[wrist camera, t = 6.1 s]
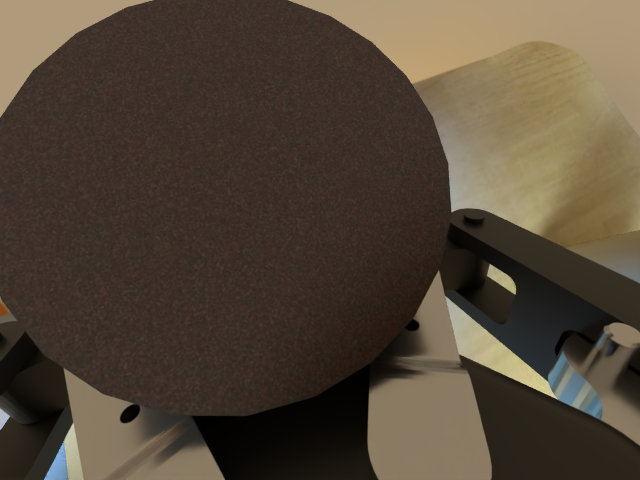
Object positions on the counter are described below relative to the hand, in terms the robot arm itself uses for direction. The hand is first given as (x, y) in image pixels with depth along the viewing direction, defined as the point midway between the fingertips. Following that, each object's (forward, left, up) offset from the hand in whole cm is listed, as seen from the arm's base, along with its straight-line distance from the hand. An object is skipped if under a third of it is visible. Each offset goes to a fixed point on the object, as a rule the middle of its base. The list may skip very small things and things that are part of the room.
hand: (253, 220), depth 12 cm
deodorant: (0, +2, -7) cm, 8 cm away
